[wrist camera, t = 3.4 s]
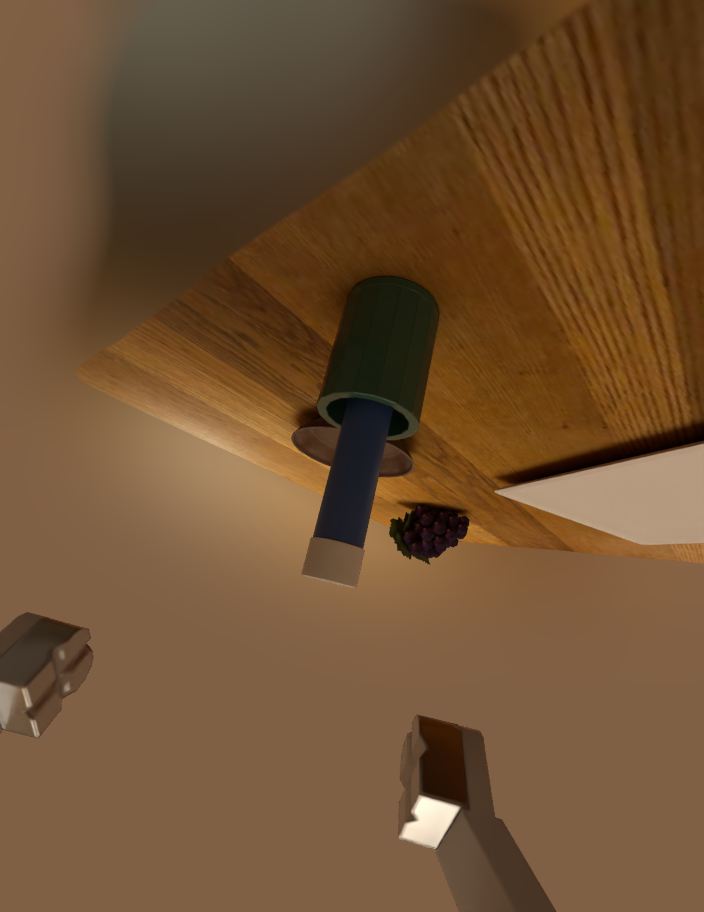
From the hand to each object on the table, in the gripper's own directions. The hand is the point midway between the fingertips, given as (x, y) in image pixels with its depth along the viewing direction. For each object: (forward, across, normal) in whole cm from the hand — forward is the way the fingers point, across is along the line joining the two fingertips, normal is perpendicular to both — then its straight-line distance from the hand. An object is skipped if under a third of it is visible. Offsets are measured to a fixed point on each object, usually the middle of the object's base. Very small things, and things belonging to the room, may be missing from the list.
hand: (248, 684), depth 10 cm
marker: (+22, +1, +6) cm, 23 cm away
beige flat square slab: (+37, +34, -7) cm, 51 cm away
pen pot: (+23, +1, +7) cm, 24 cm away
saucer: (+39, -1, -10) cm, 40 cm away
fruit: (+59, +14, -29) cm, 67 cm away
